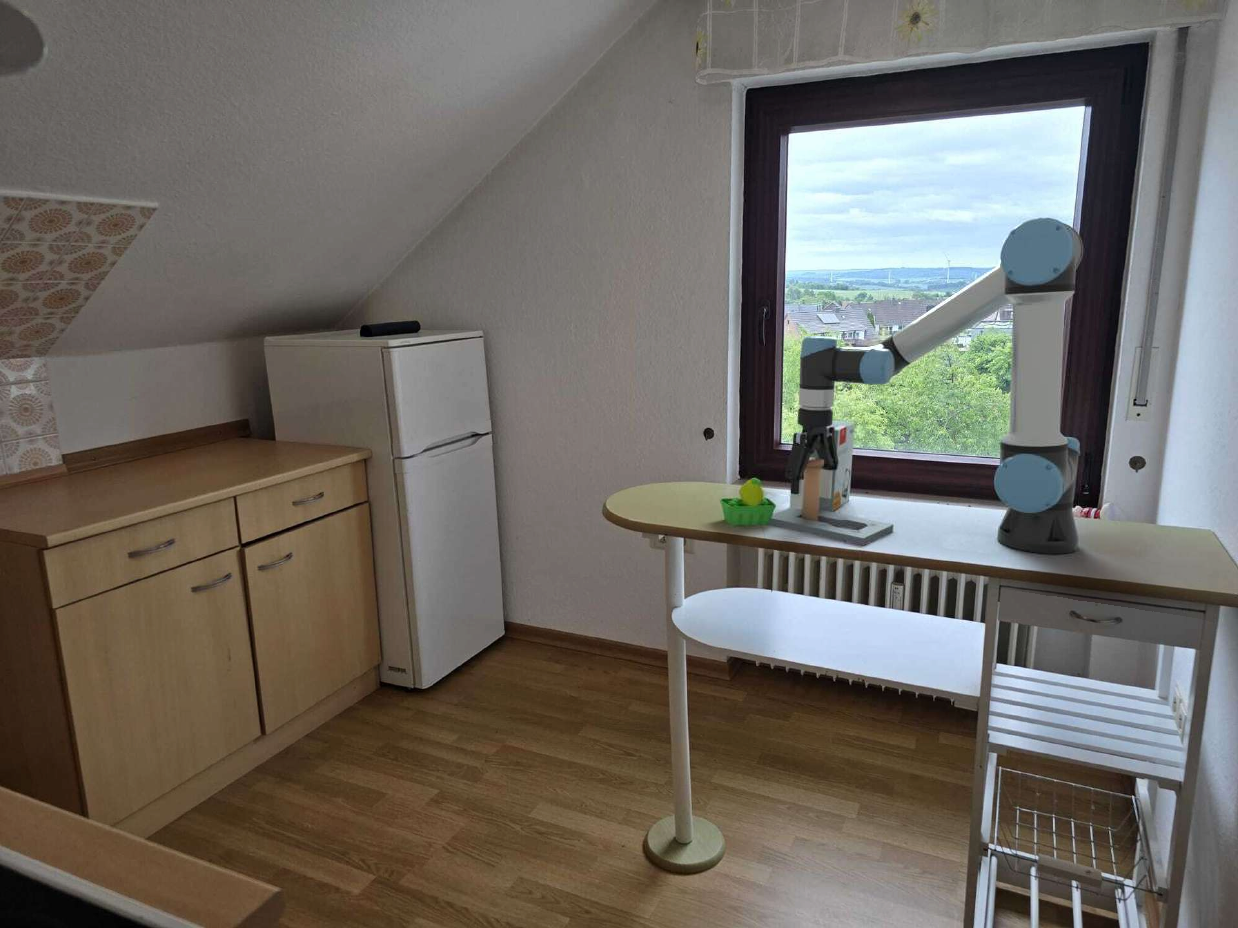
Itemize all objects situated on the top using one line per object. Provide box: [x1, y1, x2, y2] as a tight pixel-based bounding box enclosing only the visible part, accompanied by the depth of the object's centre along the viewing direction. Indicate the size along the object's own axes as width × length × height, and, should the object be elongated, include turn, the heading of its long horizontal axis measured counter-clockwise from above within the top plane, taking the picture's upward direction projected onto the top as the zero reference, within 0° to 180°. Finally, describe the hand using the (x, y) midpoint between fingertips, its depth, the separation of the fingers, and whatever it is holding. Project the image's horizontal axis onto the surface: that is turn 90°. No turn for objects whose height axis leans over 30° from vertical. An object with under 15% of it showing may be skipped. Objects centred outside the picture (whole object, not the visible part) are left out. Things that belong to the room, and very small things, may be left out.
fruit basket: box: [719, 477, 777, 527], centre depth 190 cm, size 11×9×11 cm
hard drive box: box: [810, 420, 856, 512], centre depth 204 cm, size 16×8×20 cm, turn 150°
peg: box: [802, 458, 824, 521], centre depth 189 cm, size 5×5×15 cm
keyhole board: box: [767, 507, 894, 546], centre depth 187 cm, size 24×14×2 cm, turn 47°
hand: (810, 502), depth 189 cm, fingers open, 12 cm apart
